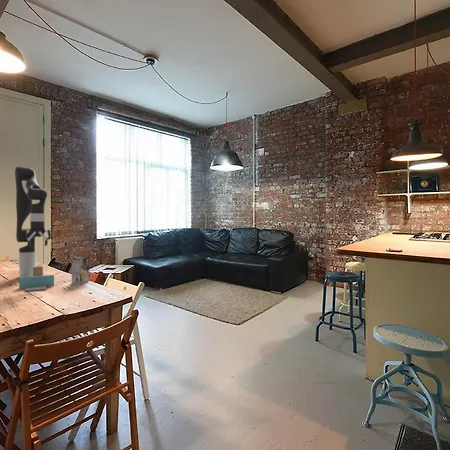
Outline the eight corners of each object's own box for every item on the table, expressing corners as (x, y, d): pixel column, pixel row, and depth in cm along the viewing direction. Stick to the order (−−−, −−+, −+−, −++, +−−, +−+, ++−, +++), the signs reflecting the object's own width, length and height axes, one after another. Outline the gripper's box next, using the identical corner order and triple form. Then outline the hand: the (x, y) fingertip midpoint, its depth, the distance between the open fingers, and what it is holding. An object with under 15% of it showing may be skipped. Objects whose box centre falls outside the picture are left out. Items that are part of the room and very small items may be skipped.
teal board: (19, 288, 180) (19, 277, 180) (54, 285, 189) (54, 274, 188) (19, 288, 179) (19, 277, 179) (54, 285, 188) (54, 275, 187)
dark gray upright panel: (26, 288, 179) (26, 287, 179) (46, 287, 183) (46, 285, 183) (25, 292, 172) (25, 290, 172) (45, 290, 177) (45, 288, 177)
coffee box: (80, 280, 203) (80, 256, 202) (89, 280, 202) (89, 256, 201) (71, 283, 194) (71, 258, 193) (80, 284, 193) (80, 259, 192)
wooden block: (33, 283, 192) (33, 266, 192) (43, 282, 194) (42, 265, 194) (33, 285, 187) (32, 267, 187) (42, 284, 190) (42, 267, 189)
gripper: (50, 220, 196) (51, 245, 196) (24, 220, 189) (24, 246, 190) (50, 220, 189) (50, 246, 190) (23, 220, 182) (23, 247, 183)
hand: (37, 246), depth 190 cm, fingers open, 8 cm apart
